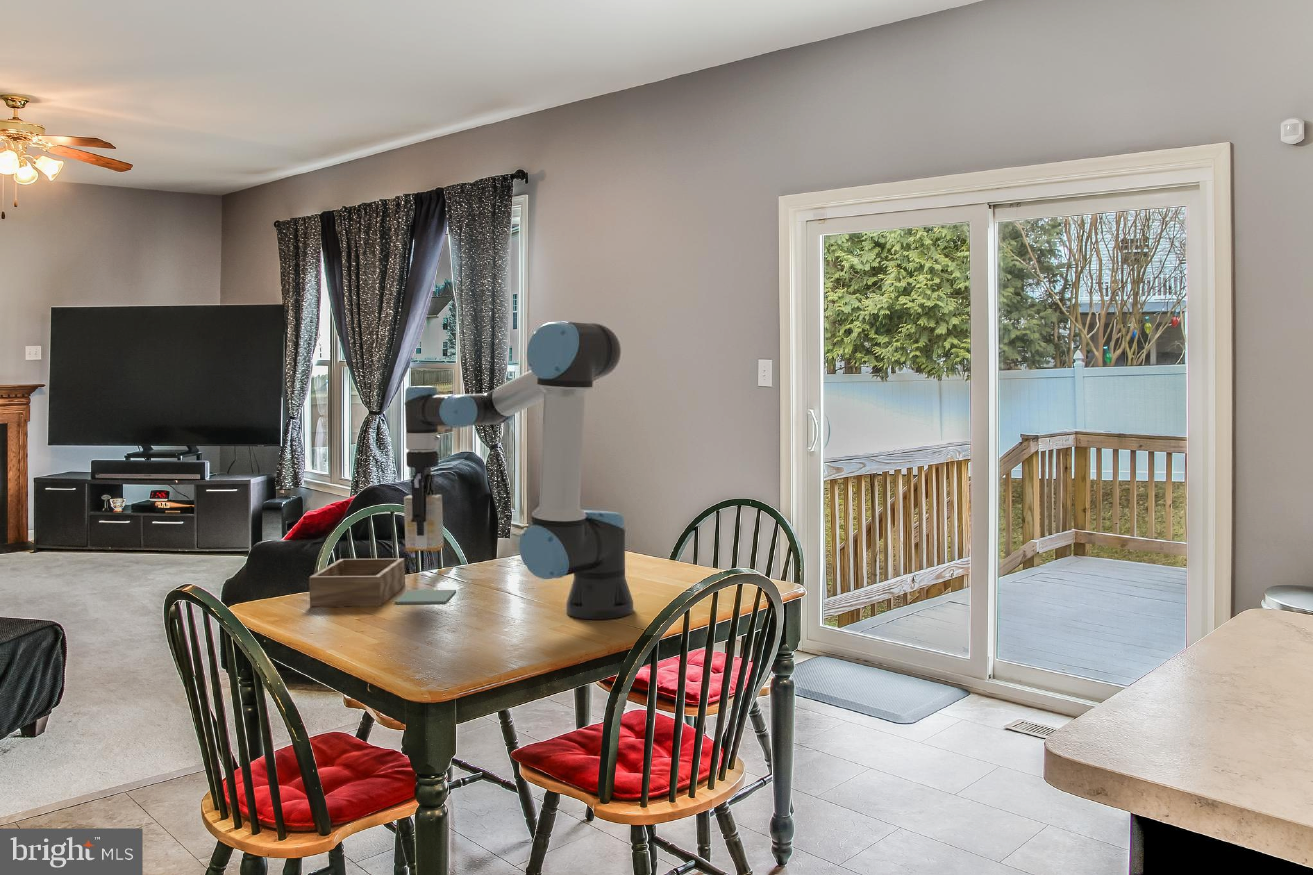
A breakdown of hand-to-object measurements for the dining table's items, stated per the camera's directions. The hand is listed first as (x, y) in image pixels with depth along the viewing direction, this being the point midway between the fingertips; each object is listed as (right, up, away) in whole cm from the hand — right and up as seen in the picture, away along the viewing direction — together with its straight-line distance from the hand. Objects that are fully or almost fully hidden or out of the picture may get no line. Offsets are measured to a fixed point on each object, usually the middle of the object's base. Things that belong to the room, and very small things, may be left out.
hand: (424, 546), depth 233 cm
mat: (0, -13, +1) cm, 13 cm away
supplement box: (0, -1, 0) cm, 1 cm away
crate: (-17, -13, +4) cm, 21 cm away
